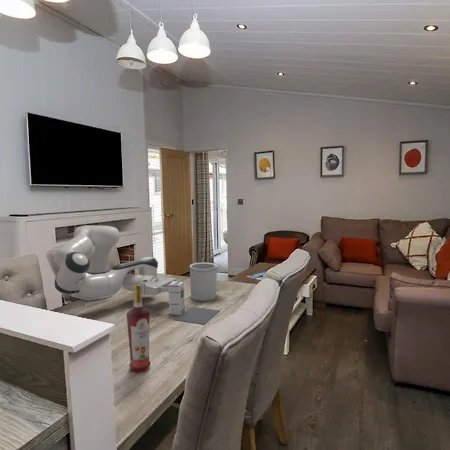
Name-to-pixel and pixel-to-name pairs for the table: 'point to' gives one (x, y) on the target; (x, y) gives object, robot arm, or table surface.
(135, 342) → the liquor
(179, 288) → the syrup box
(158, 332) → the table surface
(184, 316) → the mat
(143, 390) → the table surface
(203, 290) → the utensil holder
